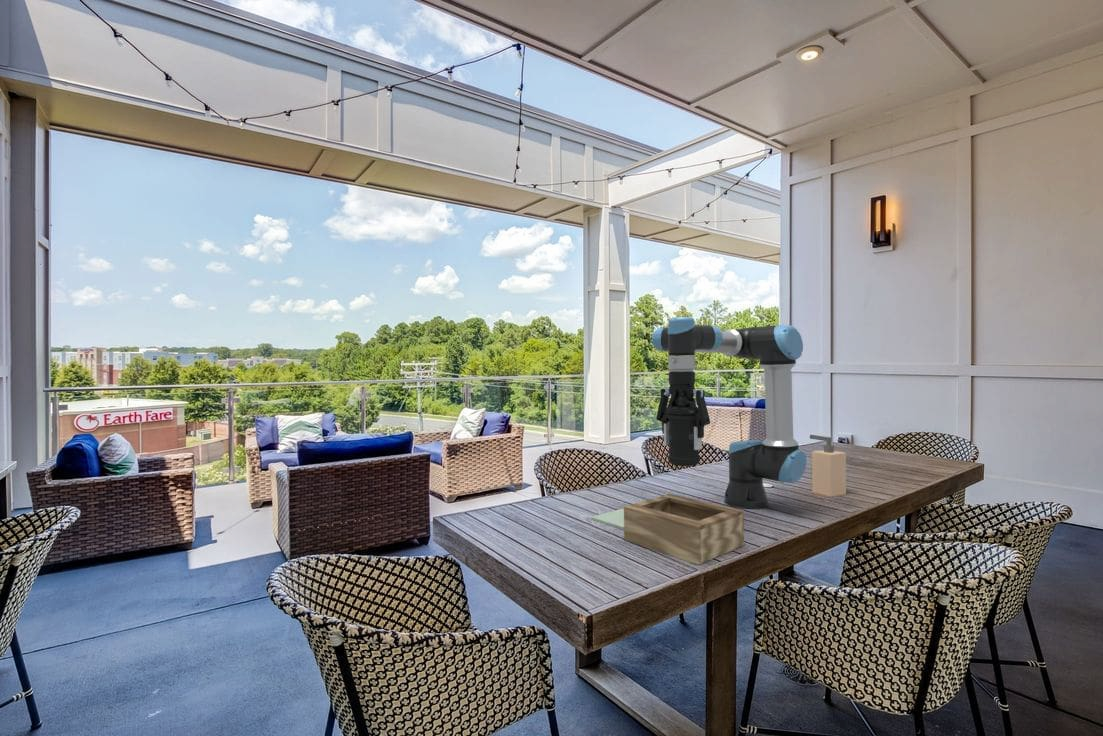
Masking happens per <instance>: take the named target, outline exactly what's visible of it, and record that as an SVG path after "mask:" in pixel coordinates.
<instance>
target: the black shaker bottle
mask: <svg viewBox="0 0 1103 736" xmlns="http://www.w3.org/2000/svg"><path fill="white" fill-rule="evenodd" d="M682 397H684V396H682ZM682 397H681V395H677V396H676V399H678V403H676V402H675V404H677V406H672V407H669V408H667V413H669V414H667V417H668V418H669V422H668V423H669V445H668V446H669V447H668V451H669V452H668V453H669V454H668V456H667V457H668V458H667V460H668V462H669V463H670V464H671V465H673V466H678V467H694V466H697V465H698V464H699V463H700V462H701V456H700V453H699V452H700V451H699V450H700V449H699V450H694V427H695V426H696V424H695V421H694V419H695V416H694V415H693V414H697V413H699V410H698V409H697V408H698V406H697V408H696V407H695V408H690V409H689V408H688V407H687V406H686V405H685V403H684V400H683V398H682Z"/></svg>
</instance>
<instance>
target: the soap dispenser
mask: <svg viewBox="0 0 1103 736" xmlns="http://www.w3.org/2000/svg"><path fill="white" fill-rule="evenodd" d="M810 439H811V440H817V441H823V442H824V441H825V442H826V444H824V445H823V449H822V450H813V451H811V454H812V455H811V462H812V466H811V468H812V469H811V472H812V473H811V475H812V476H811V477H812V479H811V482H812V483H811V484H812V485H811V486H812V487H811V491H812V493H815V494H819V495H823V496H827V497H830V498H831V497H837V496H838V497H839V496H844V495H847V453H846V452H843V451H837V450H836V451H835V446H834V445H832V437H831V436H823V435H816V434H809V440H810Z"/></svg>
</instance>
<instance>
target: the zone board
mask: <svg viewBox="0 0 1103 736" xmlns="http://www.w3.org/2000/svg"><path fill="white" fill-rule="evenodd" d="M591 521H595V522H599V523H601V524H605V525H607V524H608V525H607V526H610V527H614V528H617V529H620V530H623V531H624V507H623V508H620V509H619V508H618V509H616V510H613V511H609V512H605V513H601V514H598V515H594V516H592V517H591Z"/></svg>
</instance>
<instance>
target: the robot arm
mask: <svg viewBox="0 0 1103 736" xmlns="http://www.w3.org/2000/svg"><path fill="white" fill-rule="evenodd" d="M651 343H652V344H651V345H652V346H653V348H654V349H655V351H658V352H659V351H660V352H668V354H667V355H668V370H670V371H669V372H668V384H669V388H668V387H666V388H661V389H660V398H659V399H660V400H659V403H658V407H657V411H656V412H657V413H656V418H655V419H656V421H659V422H660V423H661V432H662V435H663V445H664V446H666V447H667V446H669V418H668V417H667V414H669V413H667V408H669V407H672V406H677V404H675V402H676V403H678V399H676V396H677V395H681V397H682V396H684V397H682V398H683V400H684V403H685V405H686V406H687V407H688V408H689V409H690V408H695V407H696V408H697V407H698V408H697V409H698V410H699V413H697V414H693V415H694V416H695V419H694V421H695V424H696V426H695V427H694V450H702V449H703V438H704V437H705V426H707V425H710V424H711V419H710V415H709V412H708V407H707V403H706V399H705V396H706V395H705V389H696V387H695V384H696V372H695V371H694V370H695V369H696V356H695V355H696V353H714V354H715V353H717V354H723V355H724V356H727V357H736V358H742V359H749V360H758V362H759V366H760V367H761V368H762V369H763V371H764V375H763V376H764V402H765V405H764V406H765V428H766V429H765V430H766V438H765V439H763V440H761V439H752V440H751V439H749V440H747V439H746V440H737V441H732V442H731V443H730V444H729V447H728V478H729V479H728V484H727V486H726V490H725V493H724V497H723V499H724V503H725V504H726V505H728V506H731V507H733V508H741V509H762V508H766V507H767V506H768V505H769V498H768V495H767V492H766V489H765V486H764V484H763V483H764V482H763V480H769V481H773V482H774V481H775V482H780V483H782V484H783V483H787V484H795V483H797V482H799V481H800V480H801V479H802V477H803V475H804V474H805V471H806V467H807V456H806V453H805V452H804V451H803V450H802V449H799V448H800V447H799V442H798V441H797V440H796V439H795V438H794V423H793V422H794V415H793V387H792V386H793V384H792V380H793V379H792V368H794V367H795V366H796V365H797V360H799V358H801V357H802V354H803V352H804V344H803V343H804V342H803V338H802V335H801V333H800V332H799V330H798V329H797V328H796V327H794V325H793V326H792V325H789V324H788V325H787V324H786V325H785V324H778V325H777V324H776V325H764V326H763V325H762V326H750V327H744V328H738V329H736V328H735V329H734V328H733V329H732V328H731V329H726V330H724V331H722V330H721V329H720V328H719V327H718V326H716V325H711V324H696V323H695V319H694V317H692V316H678V317H677V316H676V317H671V318H669V319H668V326H667V327H661V328H657V329H655V330H654V331H653V332H652V336H651ZM694 397H695V398H694Z"/></svg>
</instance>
